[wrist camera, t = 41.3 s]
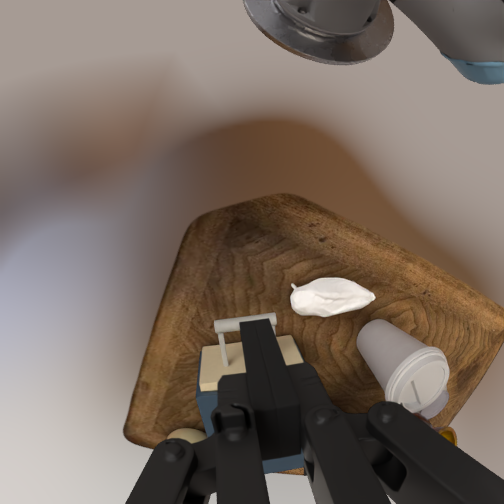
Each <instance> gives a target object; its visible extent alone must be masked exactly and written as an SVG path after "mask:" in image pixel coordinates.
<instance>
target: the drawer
mask: <svg viewBox="0 0 504 504" xmlns="http://www.w3.org/2000/svg"><path fill="white" fill-rule="evenodd" d="M266 318H269V319H270V322H271V325H272V328H273V330H274V333H275V325H277V319H276V314H275V313H267V314H260V315H253V316H245V317H238V318H230V319H222V320H215V321H214V325H215V332H216V333H218V337H219V343H220V345H214V346H205V347H203V348H202V358H201V370H200V381H199V385H200V389H201V392H203V391H209V392H213V391H217V383H218V381H219V380H220V378H221V376H222V375H229V374H237V373H245V372H246V368H245V362H244V355H243V348H242V342H239V343H231V344H225V340H224V334H223V332H231V331H238V330H240V326H239V322H244V321H252V320H259V319H266ZM275 336H276V333H275ZM276 338H277V341H278V344H279V347H280V349H281V352H282V355H283V357H284V360H285V363H286V365H292V364H297V363H303V359H302V357H301V355H300V353H299V351H298V349H297V347H296V344H295V342H294V340H293V338H292V336H291V335H287V336H281V337H276Z"/></svg>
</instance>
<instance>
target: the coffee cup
mask: <svg viewBox="0 0 504 504" xmlns="http://www.w3.org/2000/svg"><path fill="white" fill-rule="evenodd" d="M357 348H358V350H359V352H360V353H361V355H362V356H363V358H364V360H365V361H366V363H367V364H368V366H369V368H370V369H371V371H372V372H373V374H374V376H375V377H376V379H377V380H378V382H379V384H380V385H381V387H382V389H383V390H384V392H385V399H386V401H392V402H396V403H398V404H400V405H402V406H403V407H405V408H406V409H407V410H409V411H410V412H411V413H415V412H418V411H421V410H423V409H424V408H426V407H427V406H429V405H430V404H431V403H433V402H434V401H435V400H436V399H437V398H438V396H439V395H440V394H441V393H442V391H443V389H444V388H445V386H446V384H447V381H448V378H449V367H448V365H447V360H446V357H445V355H444V354H443V352H442V351H441V350H440V349H439V348H436V347H428V346H427V345H425V344H423V343H422V342H420V341H418V340H417V339H415V338H414V337H412V336H410V335H409V334H407V333H405V332H404V331H402V330H400V329H399V328H397V327H396V326H394V325H392V324H391V323H389V322H387V321H386V320H383V319H376V320H373V321H371V322H369V323H367V324H366V325H365V326H364V327H363V328H362V329H361V331H360V332H359V334H358V337H357Z"/></svg>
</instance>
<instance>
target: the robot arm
mask: <svg viewBox="0 0 504 504" xmlns="http://www.w3.org/2000/svg"><path fill="white" fill-rule="evenodd" d="M380 1H381V0H274V2H275V4H276V6H277V7H278V9H279V10H280V11H281V12H282V13H283V14H284V15H285V16H286V17H287V18H288V19H289V20H290V21H292V22H293V23H295V24H296V25H298V26H299V27H301V28H303V29H305V30H307V31H309V32H312V33H314V34H317V35H321V36H325V37H330V38H350V37H354V36H357V35H359V34H361V33H363V32H364V31H365V30H366V29H367V28H368V27H370V26H371V24H372V23H373V22H374V20H375V18H376V15H377V12H378V8H379V5H380ZM389 1H391V2H392V3H393V4H394V5H395V6H396V7H398V8H399V9H400V10H401V11H402V12H403V13H404V14H405V15H406V16H407V17H408V18H409V19H410V20H411V21H413V22H414V23H415V24H416V25H417V26H418V28H419V29H420V30H421V31H422V32H423V33H424V34H425V35H426V36H427V37H428V38H429V39H430V40H431V41H432V42H433V43H434V44H435V46H436V47H437V48H438V49H439V50H440V52H441V54H442V55H443V56H444V57H445V58H447V59H448V60H449V61H450V62H451V63H452V64H453V65H454V66H455V67H456V68H457V70H458V71H459V72H460V73H461V74H462V75H463V76H464V77H465V78H467V79H469V80H471V81H473V82H477V83H479V84H489V85H490V84H501V83H504V0H389ZM239 326H240V333H241V341H242V348H243V355H244V362H245V368H246V372H245V373H237V374H229V375H222V376H221V378H220V380H219V381H218V383H217V392H218V393H217V398H218V400H217V405H218V406H217V407H216V408H215V409H214V410H213V411H212V413H211V416H210V418H211V421H212V425H213V428H214V433H213V434H212V435H211V436H210V437H208V438H207V439H204V440H202V441H199V442H195V443H192V444H191V443H190V442H189V441H187V440H185V439H182V438H170V439H166V440H164V441H162V442H160V443H159V444H158V445H157V446H156V447H155V448H154V450H153V452H152V454H151V456H150V458H149V460H148V462H147V463H146V465H145V467H144V469H143V471H142V473H141V475H140V477H139V479H138V481H137V482H136V484H135V486H134V488H133V490H132V492H131V494H130V496H129V498H128V499H127V501H126V503H125V504H208V502H209V499H210V495H211V494H212V493H215V492H217V504H270V501H269V496H268V491H267V485H266V480H265V475H264V469H263V463H262V461H265V460H272V459H278V458H284V457H289V456H294V455H299V454H301V449H302V452H303V455H304V476H306V475H307V476H308V479H309V483H310V486H311V489H312V492H313V495H314V499H315V502H316V504H391V502H390V500H389V498H388V496H389V497H390V498H391V499H392V500H393V501H394V502H395V503H396V504H504V480H503V479H502V478H500V477H499V476H497V475H496V474H495V473H493V472H492V471H490V470H489V469H487V468H486V467H485V466H483V465H482V464H480V463H479V462H478V461H476V460H475V459H473V458H472V457H471V456H469V455H468V454H466V453H465V452H464V451H462V450H461V449H460V448H458V447H457V446H455V445H454V444H453V443H451V442H450V441H449V440H447V439H446V438H445V437H443V436H442V435H441V434H439V433H438V432H436V431H435V430H434V429H432V428H431V427H430V426H428V425H427V424H426V423H424V422H423V421H422V420H420V419H419V418H418V417H416V416H415V415H414V414H413V413H411V412H410V411H409V410H407V409H406V408H405V407H403V406H402V405H400V404H398V403H396V402H392V401H383V402H379V403H376V404H375V405H373V406H372V407H371V408H370V410H369V411H368V413H360V414H351V413H345V412H343V411H342V410H341V409H340V408H339V407H337V406H335V405H333V404H332V402H331V400H330V398H329V396H328V394H327V392H326V390H325V388H324V386H323V384H322V382H321V380H320V378H319V376H318V374H317V372H316V370H315V368H314V367H313V366H311V365H310V364H308V363H307V362H303V363H297V364H292V365H286V363H285V360H284V357H283V355H282V352H281V349H280V347H279V344H278V341H277V338H276V336H275V333H274V330H273V328H272V325H271V322H270V319H269V318H266V319H259V320H252V321H244V322H239ZM386 494H387V495H388V496H387V495H386Z"/></svg>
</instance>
